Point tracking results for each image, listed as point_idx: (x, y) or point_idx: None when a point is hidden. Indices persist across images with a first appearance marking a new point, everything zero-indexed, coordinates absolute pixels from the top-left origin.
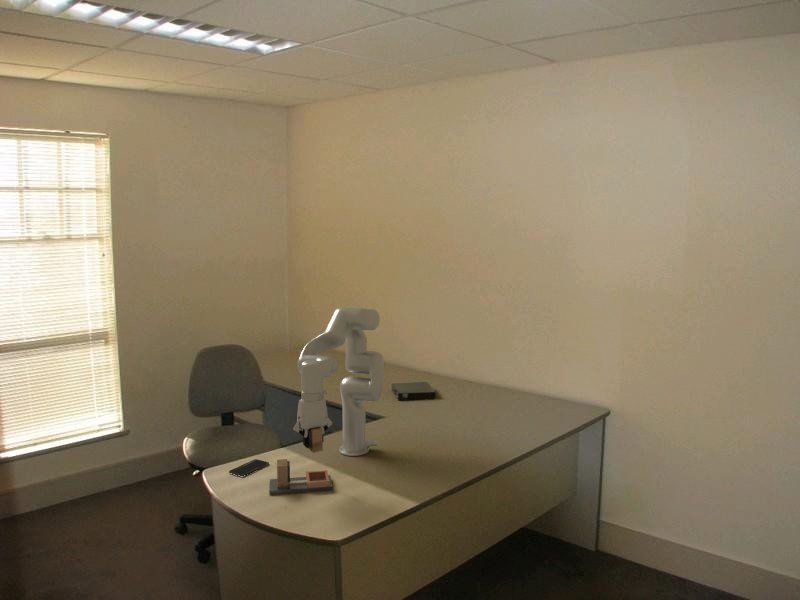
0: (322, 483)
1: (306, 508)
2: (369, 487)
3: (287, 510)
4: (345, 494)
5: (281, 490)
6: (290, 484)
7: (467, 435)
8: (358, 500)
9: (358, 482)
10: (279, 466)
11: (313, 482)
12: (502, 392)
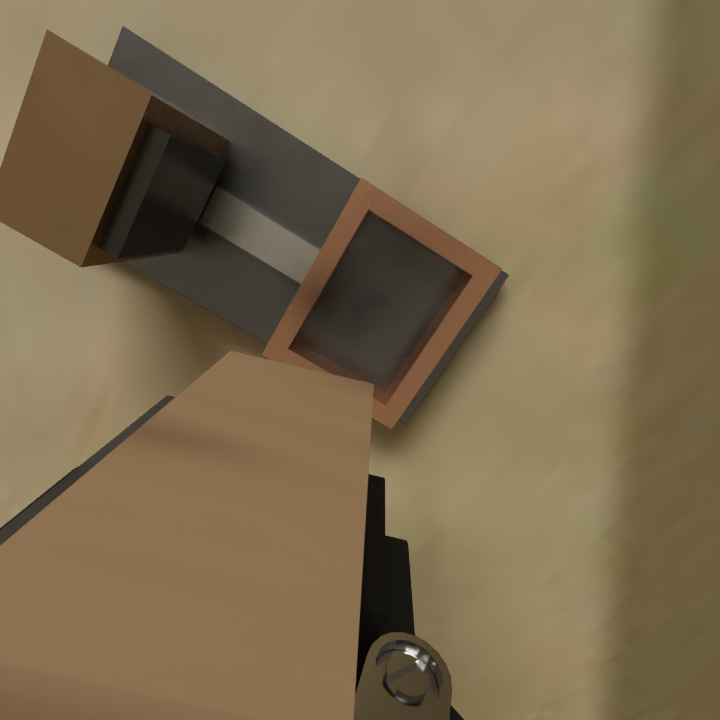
0: None
1: None
2: (578, 512)
3: (87, 449)
4: (424, 495)
5: (124, 261)
6: (208, 226)
7: None
8: (427, 580)
9: (587, 426)
10: (9, 225)
11: None
12: None
